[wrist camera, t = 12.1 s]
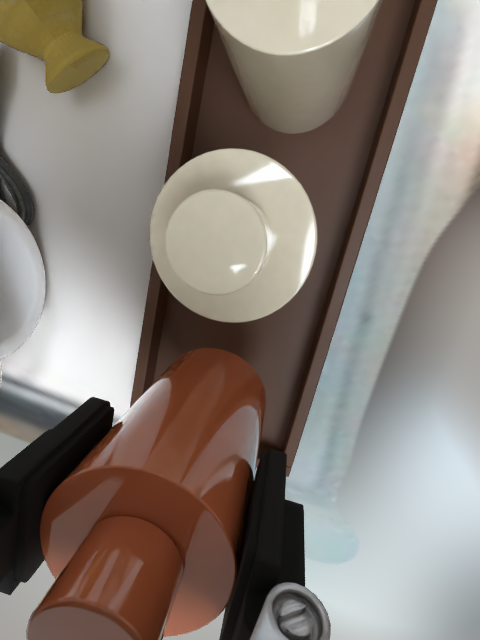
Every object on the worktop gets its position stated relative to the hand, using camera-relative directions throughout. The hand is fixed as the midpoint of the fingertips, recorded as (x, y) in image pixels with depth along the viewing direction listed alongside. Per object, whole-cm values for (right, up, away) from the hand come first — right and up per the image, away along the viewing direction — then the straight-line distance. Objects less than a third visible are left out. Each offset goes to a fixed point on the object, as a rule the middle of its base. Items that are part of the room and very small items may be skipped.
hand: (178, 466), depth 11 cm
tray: (+3, +9, +7) cm, 12 cm away
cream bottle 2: (+3, +9, +6) cm, 11 cm away
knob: (-6, +18, +7) cm, 20 cm away
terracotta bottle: (+1, +1, +5) cm, 5 cm away
